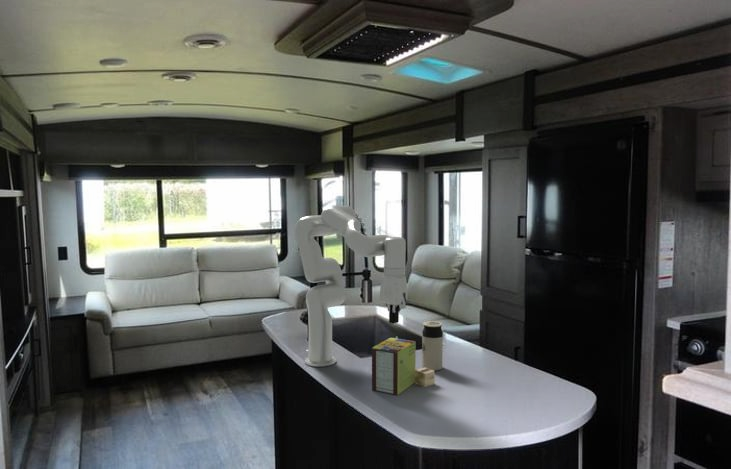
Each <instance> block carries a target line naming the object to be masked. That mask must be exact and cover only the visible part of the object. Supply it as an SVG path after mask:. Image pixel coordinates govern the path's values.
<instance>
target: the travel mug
mask: <svg viewBox="0 0 731 469" xmlns="http://www.w3.org/2000/svg"><path fill="white" fill-rule="evenodd" d="M422 325H423V330H422V331H421V333H422V338H421V340H422V342H421V344H422V345H421V349H422V350H421V352H422V353H421V356H422V357H421V368H424V367H425V368H428V369H431V370H434V371H435V372H436V371H440V370H442V369H443V343H444V342H443V338H444V337H443V336H444V335H443V334H444V333H443V330H442V326H443V323H442V322H440V321H435V320H434V321H433V320H430V321H429V320H428V321H424V322H423V323H422Z"/></svg>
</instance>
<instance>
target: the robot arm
mask: <svg viewBox="0 0 731 469" xmlns="http://www.w3.org/2000/svg"><path fill="white" fill-rule="evenodd" d="M361 227H362V224H361V221H360V219H358V218H357V215H356V212H355V210H354V208H353V207H351V206H349V205H346V204H345V205H329V206H327V207H325V208H324V209H323V210H322V212H321V214H319V215H318V214H317V215H307V216H303V217H300V219H299V220H297V221H296V223H295V226H294V238H295V239H294V240H295V242H296V244H297V247H298V250H299V254H300V258H301V264H302V269H303V272H304V277H305V279H306V281H307V282H309V283H313V284H315V283H320V282H325V284H321V285H315V286H313V287H310V288H309V289H308V290H307V292H306V293H305V303H306V308H307V314H308V315H307V316H308V319H307V320H308V349H306V350H305V351H304V353H305V354H307V357H305V359H304V364H306V365H307V366H309V367H315V368H317V367H318V368H319V367H320V368H321V367H322V368H324V367H330V366H333V365H334V364H335V363H337V359H336V357H335V356H333V320H332V319H333V318H332V315H331V314H330V311H329V308H332V307H338V306H340V305H342V304H344V302H345V301H346V296H347V293H346V286H345V283H344V278H343V272H342V269H341V265H340V263H339V262H338V261H337V260H336V259H335V258H333V257H323V253H322V248H321V246H320V244H319V242H317V241H318V240H316V239H315V238H314V237H324V236H331V235H335V234H339V235H340V236H341V237H343V238H344V240H345V243H346V244H347V246H348V249H349V248H350V250H352V251H353V252H355V253H356V254H358V255H359V256H362V257H365V258H373V257H381V256H383V274H382V276H381V282H380V290H379V300H380V302H382V304H383V305H385V306H386V308H387V312H388V322H389V324H392V325H393V324H398V323H399V319H400V316H399V315H400V314H399V313H400V312H401V310H402V309H403V310H404V309H406V308H407V306H406V304H407V302H408V283H407V277H406V250H407V249H406V248H407V247H406V242H407V241H406V239H405V238H404V237H400V236H391V235H387V234H378V235H377V234H376V235H374V234H373V235H365V234H363V233H362V232H361V230H362V228H361Z"/></svg>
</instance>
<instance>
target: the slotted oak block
mask: <svg viewBox="0 0 731 469" xmlns="http://www.w3.org/2000/svg"><path fill="white" fill-rule="evenodd" d="M435 372H436V371H434V370H431V369H428V368H425V367H424V368H422V367H421V368H418V369H415V382H414V384H416V385H418V386H421V387H422V388H423V387H424V388H427V387H429V386H433V385H435Z"/></svg>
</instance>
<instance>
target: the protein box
mask: <svg viewBox="0 0 731 469" xmlns="http://www.w3.org/2000/svg"><path fill="white" fill-rule="evenodd" d="M416 346H417V344H416V341H415V340H409V339H404V338H398V337H397V338H396V337H389V338H387V339H386V340H384V341H382V342H380V343H378V344H376V345H374V346H373V347H372V348H371V390H372V391H374V390H375V391H374V392H379V393H384V394H388V395H389V394H390V395H395V396H398V395H400V394H401V393H403V392H404V391H405V390H406V389H408V388H409V387H411V385H413V384H415V370H416V349H417V348H416Z"/></svg>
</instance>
